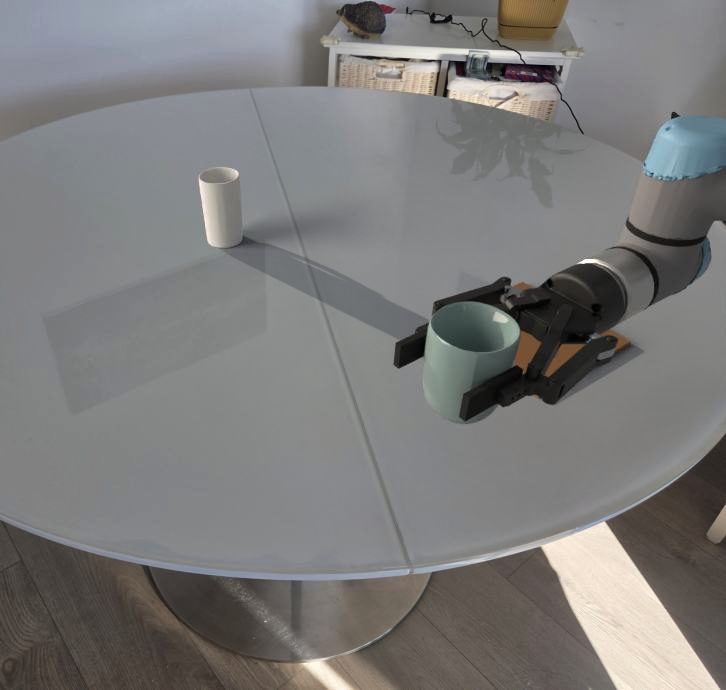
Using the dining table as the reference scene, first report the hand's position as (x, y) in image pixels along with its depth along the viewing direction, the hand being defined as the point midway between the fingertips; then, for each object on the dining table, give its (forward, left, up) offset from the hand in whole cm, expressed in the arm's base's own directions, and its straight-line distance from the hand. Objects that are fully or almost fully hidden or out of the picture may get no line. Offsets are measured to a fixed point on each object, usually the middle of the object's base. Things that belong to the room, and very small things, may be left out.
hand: (429, 380), depth 57 cm
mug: (+62, -12, -17) cm, 65 cm away
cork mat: (+12, -32, -17) cm, 38 cm away
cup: (0, -5, -6) cm, 8 cm away
